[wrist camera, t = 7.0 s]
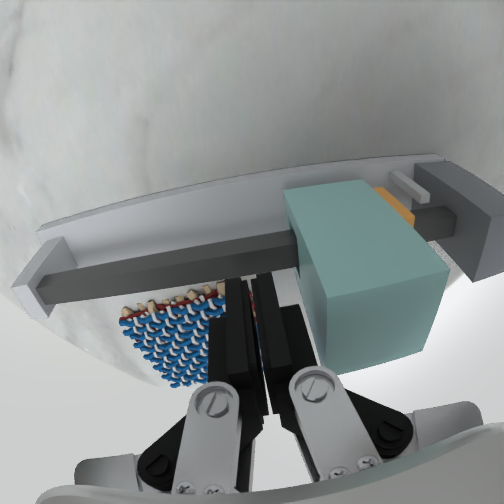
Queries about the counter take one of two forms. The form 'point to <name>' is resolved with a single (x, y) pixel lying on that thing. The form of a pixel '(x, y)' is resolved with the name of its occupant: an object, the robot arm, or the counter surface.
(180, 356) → the woven mat
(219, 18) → the counter surface
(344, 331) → the teal sliding block
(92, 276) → the teal block rod stand
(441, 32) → the counter surface
